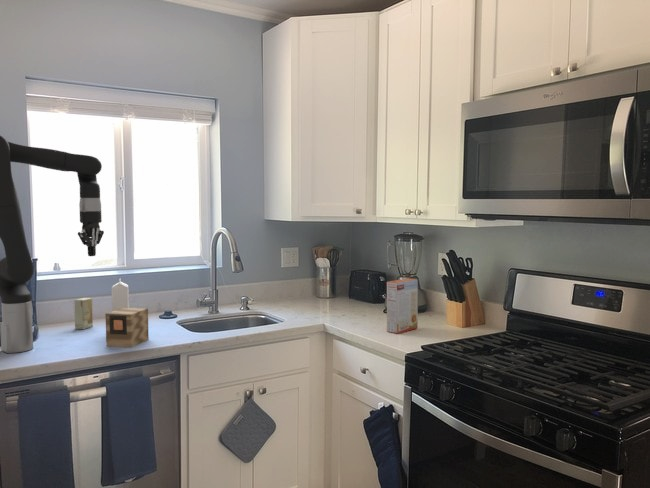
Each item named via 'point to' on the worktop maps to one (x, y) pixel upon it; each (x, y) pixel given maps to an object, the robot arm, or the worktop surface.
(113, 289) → the milk
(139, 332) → the block
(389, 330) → the cracker box
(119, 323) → the peg
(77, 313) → the skincare box
